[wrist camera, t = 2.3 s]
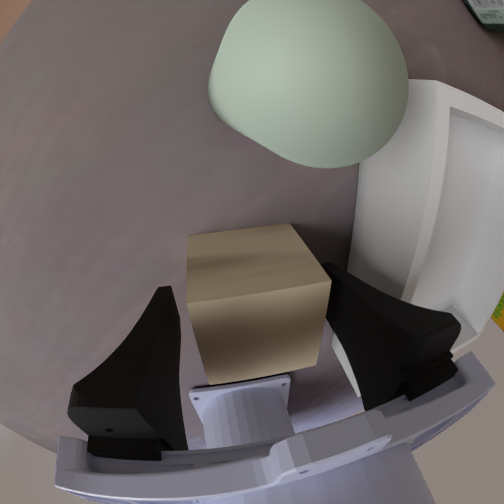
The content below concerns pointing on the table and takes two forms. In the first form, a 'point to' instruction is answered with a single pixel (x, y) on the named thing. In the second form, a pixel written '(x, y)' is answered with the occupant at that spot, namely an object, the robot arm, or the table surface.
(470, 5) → the coffee jar
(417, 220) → the tote
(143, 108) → the table surface
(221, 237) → the maple cube
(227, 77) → the sage cylinder
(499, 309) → the supplement bottle
